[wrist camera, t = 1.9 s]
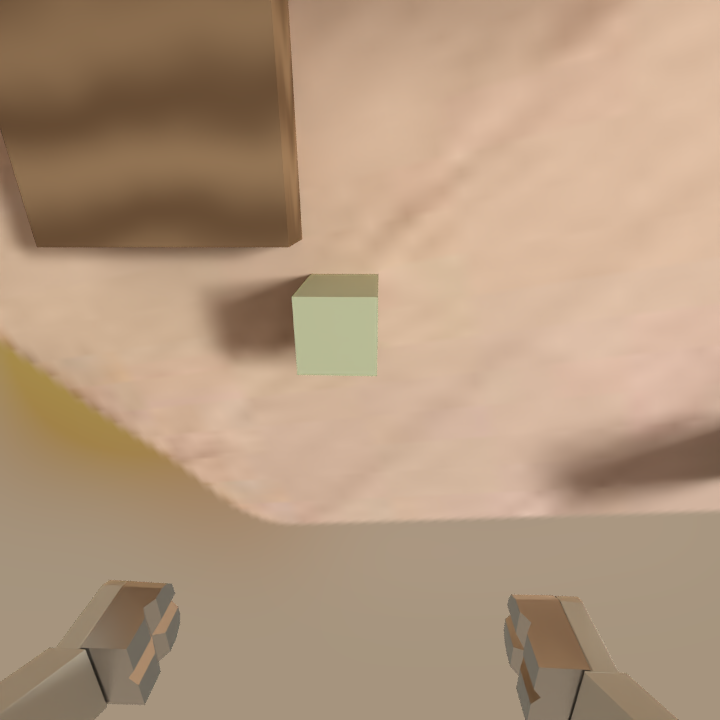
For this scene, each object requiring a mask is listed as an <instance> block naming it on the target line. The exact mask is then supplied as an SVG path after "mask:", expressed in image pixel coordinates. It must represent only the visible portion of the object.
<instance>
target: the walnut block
mask: <svg viewBox="0 0 720 720" xmlns="http://www.w3.org/2000/svg"><path fill="white" fill-rule="evenodd" d="M0 129H1V132H2V135H3V139H4V142H5V145H6V148H7V152H8V155H9V158H10V161H11V165H12V168H13V171H14V174H15V178H16V181H17V184H18V187H19V190H20V194H21V197H22V200H23V203H24V207H25V210H26V213H27V216H28V220H29V223H30V226H31V229H32V233H33V236H34V239H35V242H36V245H37V247H290V246H291V245H293V244H295V243H296V242H298V241H300V240H301V239H302V228H301V211H300V195H299V178H298V161H297V144H296V127H295V110H294V94H293V77H292V60H291V43H290V26H289V10H288V0H0Z"/></svg>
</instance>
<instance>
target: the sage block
mask: <svg viewBox="0 0 720 720" xmlns="http://www.w3.org/2000/svg"><path fill="white" fill-rule="evenodd" d="M292 309H293V323H294V336H295V350H296V364H297V375H335V376H377V342H378V274H310V276H309V277H308V278H307V279H306V280H305V282H304V283H303V284H302V285H301V286H300V287H299V289H298V290H297V291H296V292H295V293H294V295H293V296H292Z"/></svg>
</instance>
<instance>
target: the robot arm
mask: <svg viewBox="0 0 720 720" xmlns="http://www.w3.org/2000/svg"><path fill="white" fill-rule="evenodd" d="M174 594H175V592H174V589H173V586H172V584H168V583H152V582H137V581H118V580H109V581H108V582H106V583H105V584H103V585H102V586H101V588H100V589H99V590H98V592H97V593H96V594H95V596H94V597H93V598H92V600H91V601H90V602H89V604H88V605H87V606H86V608H85V609H84V611H83V612H82V613H81V614H80V616H79V617H78V618H77V620H76V621H75V623H74V624H73V625H72V627H71V628H70V629H69V631H68V632H67V633H66V635H65V636H64V638H63V639H62V640H61V642H60V643H59V644H58V645H57V647H56V648H48V649H47V650H45V651H44V652H43V653H41V654H40V655H39V656H37V657H35V658H34V659H32V660H31V661H30V662H28V663H27V664H25V665H24V666H22V667H21V668H20V669H18V670H17V671H15V672H14V673H12V674H11V675H9V676H8V677H7V678H5V679H4V680H2V681H1V682H0V720H94V719H95V718H96V717H97V716H98V715H99V714H100V713H101V712H102V711H103V710H104V709H105V708H106V707H107V704H138V705H145V703H146V701H147V699H148V697H149V695H150V693H151V690H152V688H153V686H154V684H155V682H156V680H157V678H158V676H159V674H160V666H159V661H160V660H161V659H162V658H163V657H164V656H165V655H167V654H168V653H169V652H170V651H171V649H172V646H173V644H174V642H175V640H176V637H177V633H178V629H179V624H180V612H179V608H178V606H177V605H176V604H175V603H173V602H172V601H171V600H172V598H173V596H174ZM508 609H509V612H510V616H508V617H507V618H506V619H505V625H504V626H505V627H504V639H505V646H506V652H507V656H508V660H509V664H510V666H511V668H512V669H513V670H514V671H515V672H516V673H517V674H518V675H519V677H518V682H517V688H516V689H517V692H518V696H519V700H520V703H521V706H522V710H523V713H524V717H525V720H678V719H677V718H676V717H675V716H674V715H673V714H671V713H670V712H669V711H668V710H667V709H666V708H665V707H664V706H663V705H661V704H660V703H659V702H658V701H657V700H656V699H655V698H654V697H652V696H651V695H650V694H649V693H648V692H647V691H646V690H645V689H644V688H642V687H641V686H640V685H639V684H638V683H637V682H636V681H635V680H633V679H632V678H631V677H630V676H629V675H628V674H627V673H619V672H618V670H617V668H616V666H615V664H614V662H613V660H612V658H611V656H610V654H609V652H608V650H607V648H606V646H605V644H604V643H603V641H602V639H601V637H600V635H599V633H598V631H597V629H596V627H595V625H594V623H593V621H592V619H591V617H590V616H589V614H588V612H587V610H586V608H585V606H584V604H583V602H582V601H581V600H580V599H579V598H578V597H574V596H553V595H511V596H510V597H509V600H508Z"/></svg>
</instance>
